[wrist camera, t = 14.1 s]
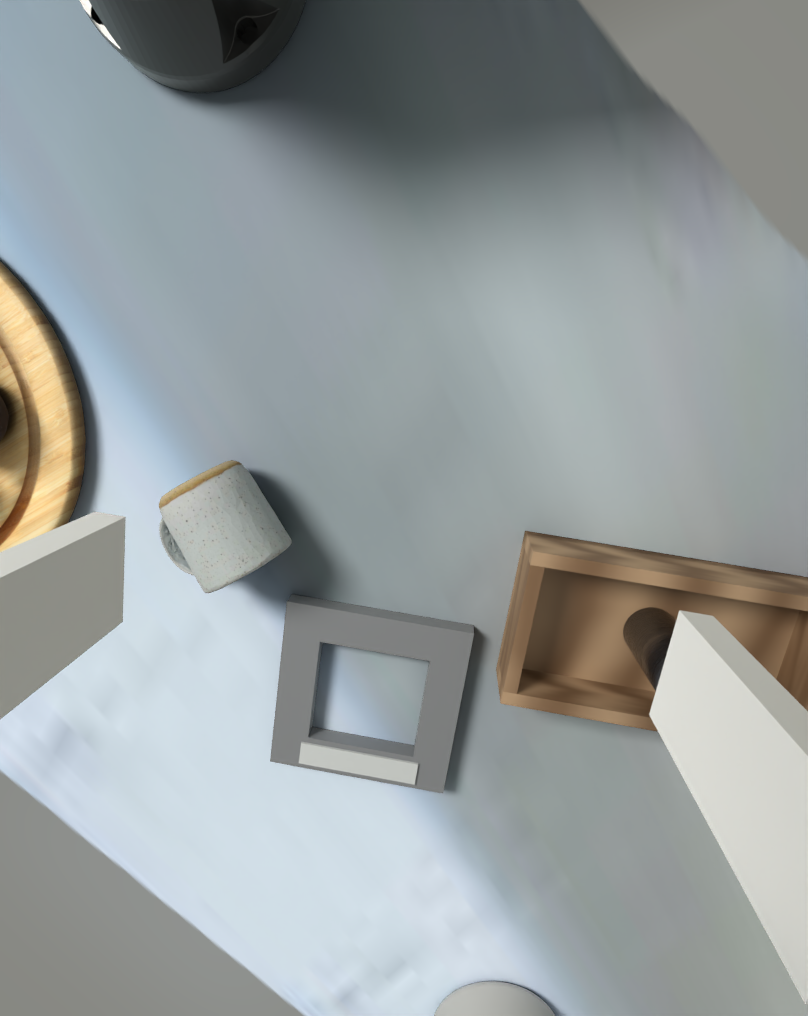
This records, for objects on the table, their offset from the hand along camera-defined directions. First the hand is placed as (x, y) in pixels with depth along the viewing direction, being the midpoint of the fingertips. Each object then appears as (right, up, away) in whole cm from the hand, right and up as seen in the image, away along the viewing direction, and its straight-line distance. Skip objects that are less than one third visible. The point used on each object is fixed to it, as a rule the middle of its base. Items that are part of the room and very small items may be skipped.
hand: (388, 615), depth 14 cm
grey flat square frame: (-2, -13, +36) cm, 39 cm away
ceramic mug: (-14, +1, +34) cm, 37 cm away
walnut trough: (+20, -7, +33) cm, 39 cm away
